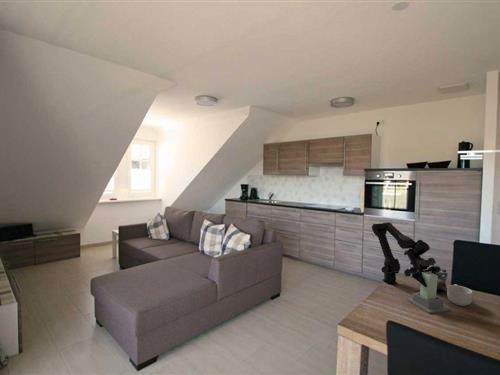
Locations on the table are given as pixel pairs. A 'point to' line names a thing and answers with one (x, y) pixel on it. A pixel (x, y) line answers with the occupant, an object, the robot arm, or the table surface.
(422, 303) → the grey square socket base
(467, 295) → the teacup
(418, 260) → the robot arm
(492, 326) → the table surface
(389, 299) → the table surface
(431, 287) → the sage block
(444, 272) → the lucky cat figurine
